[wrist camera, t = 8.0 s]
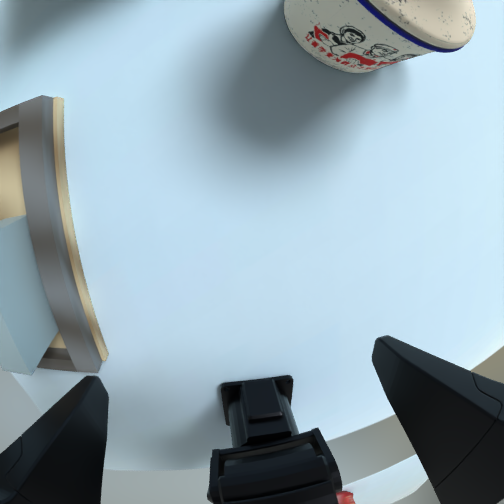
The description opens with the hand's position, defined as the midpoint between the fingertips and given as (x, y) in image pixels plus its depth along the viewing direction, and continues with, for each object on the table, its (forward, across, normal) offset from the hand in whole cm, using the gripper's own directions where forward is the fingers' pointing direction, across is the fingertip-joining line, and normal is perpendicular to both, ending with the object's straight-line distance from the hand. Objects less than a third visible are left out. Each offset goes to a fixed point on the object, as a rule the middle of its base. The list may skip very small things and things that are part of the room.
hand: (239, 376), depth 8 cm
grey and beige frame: (+12, +15, -2) cm, 19 cm away
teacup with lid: (+12, -11, -16) cm, 23 cm away
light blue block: (+11, +15, 0) cm, 18 cm away
